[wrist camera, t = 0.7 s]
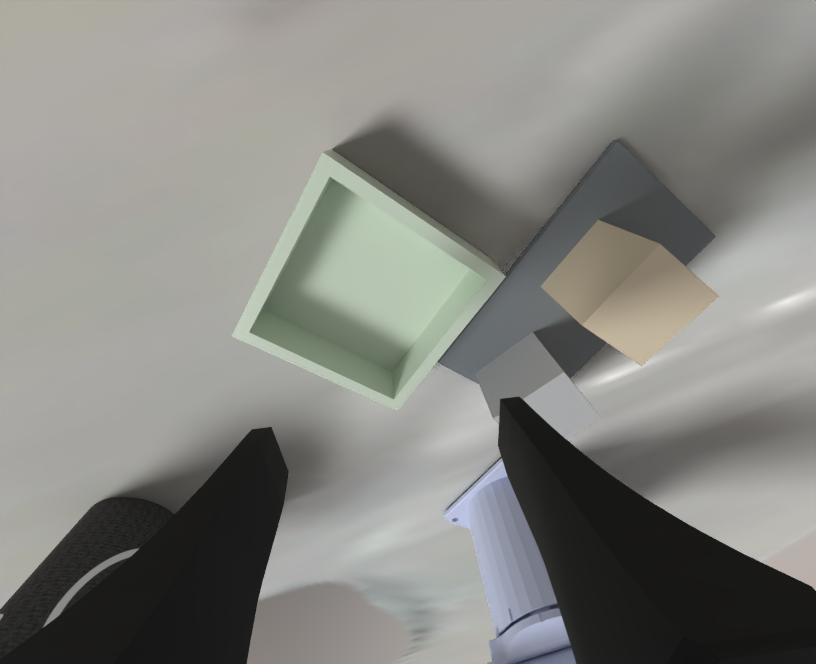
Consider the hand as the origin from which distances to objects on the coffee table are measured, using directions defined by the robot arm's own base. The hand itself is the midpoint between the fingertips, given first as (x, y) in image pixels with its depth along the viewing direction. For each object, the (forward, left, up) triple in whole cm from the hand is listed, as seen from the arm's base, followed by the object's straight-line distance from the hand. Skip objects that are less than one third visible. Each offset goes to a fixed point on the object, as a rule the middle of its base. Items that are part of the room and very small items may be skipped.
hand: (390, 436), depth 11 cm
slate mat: (-8, -6, -10) cm, 14 cm away
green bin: (+2, -1, -10) cm, 10 cm away
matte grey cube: (-9, -1, -9) cm, 13 cm away
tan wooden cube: (-8, -8, -9) cm, 15 cm away
